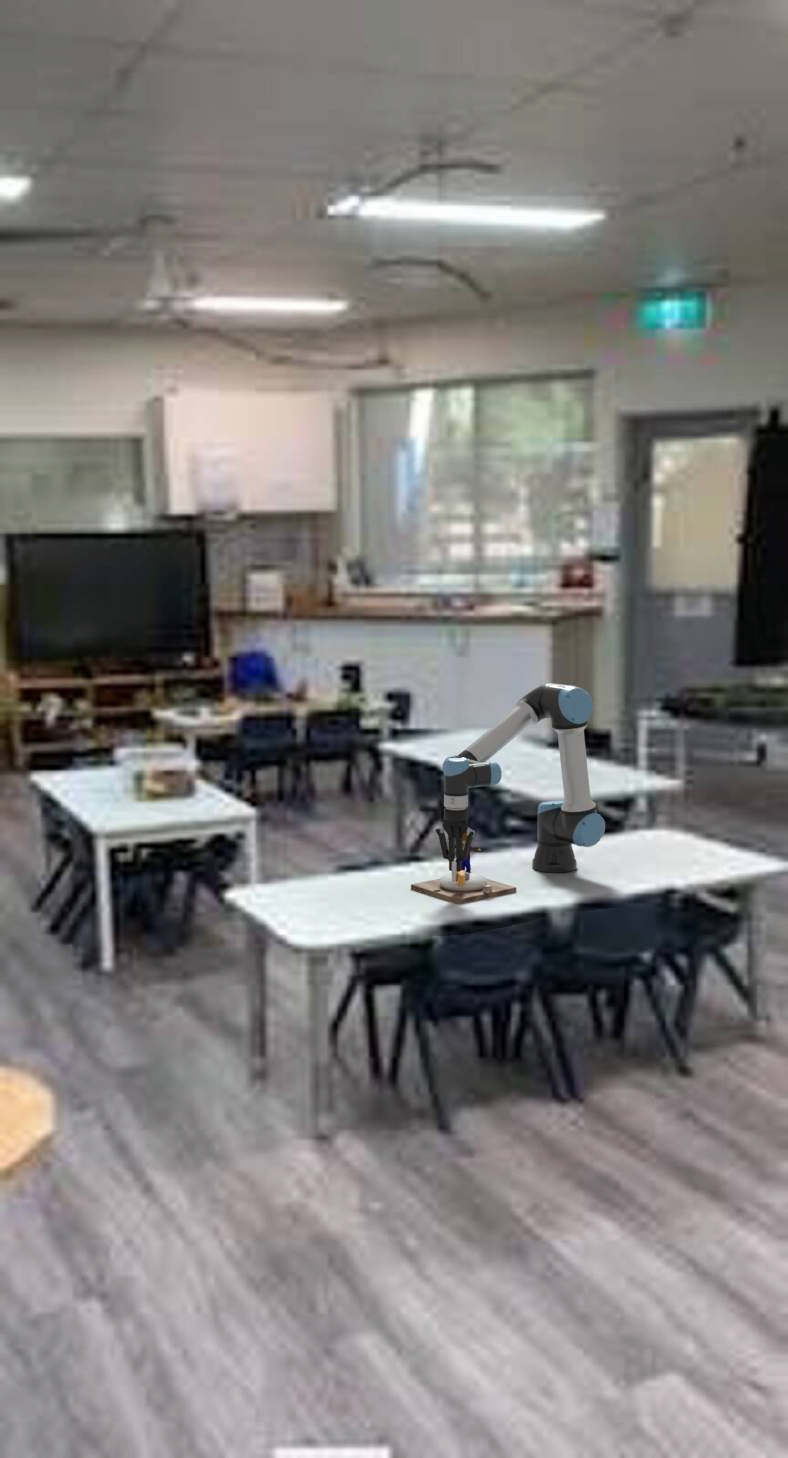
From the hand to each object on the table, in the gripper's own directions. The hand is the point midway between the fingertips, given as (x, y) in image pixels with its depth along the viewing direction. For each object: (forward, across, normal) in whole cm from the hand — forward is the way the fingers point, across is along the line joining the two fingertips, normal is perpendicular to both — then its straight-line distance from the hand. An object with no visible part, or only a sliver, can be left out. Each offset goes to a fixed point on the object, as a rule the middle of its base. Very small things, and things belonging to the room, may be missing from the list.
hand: (455, 881), depth 454 cm
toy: (+5, -8, +32) cm, 34 cm away
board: (+5, 0, +8) cm, 9 cm away
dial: (+3, 0, +7) cm, 7 cm away
